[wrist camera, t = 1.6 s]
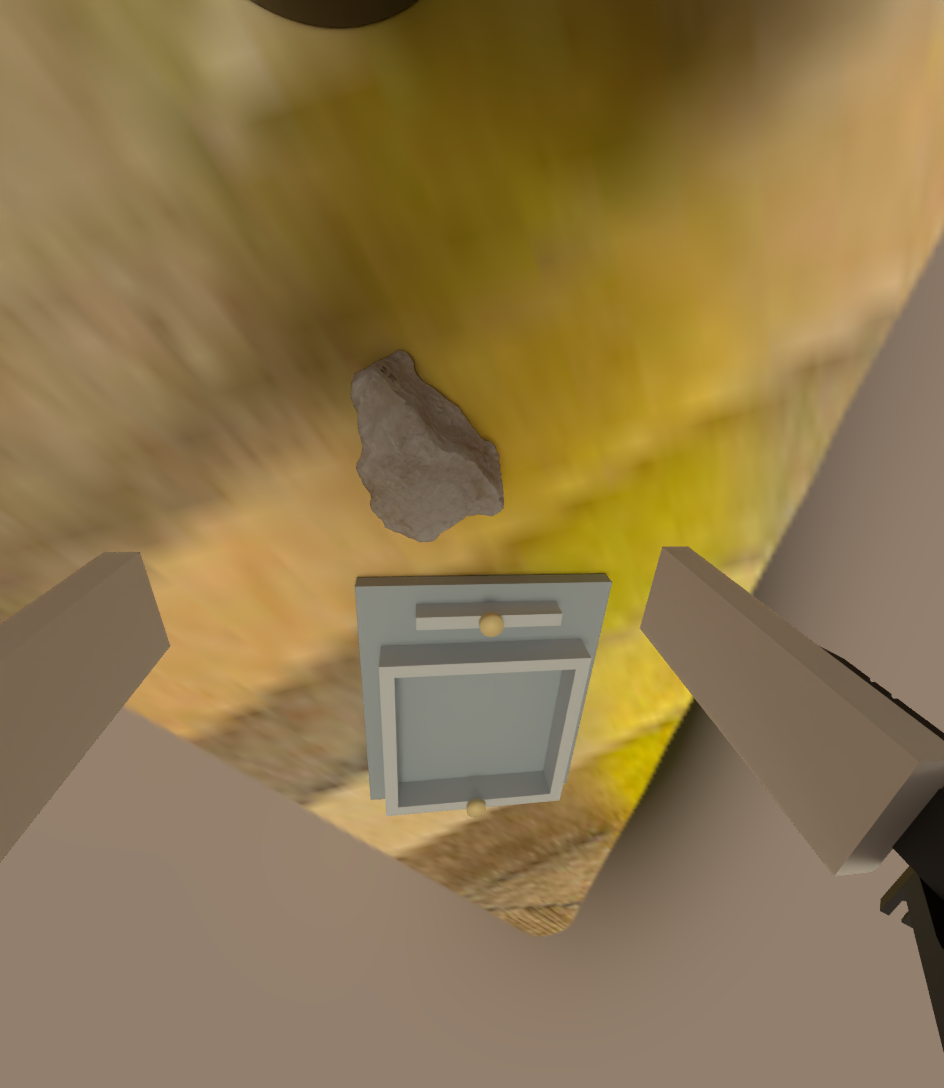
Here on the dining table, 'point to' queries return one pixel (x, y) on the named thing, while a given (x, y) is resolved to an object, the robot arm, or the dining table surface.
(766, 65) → the dining table surface
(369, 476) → the stone
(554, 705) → the bracket board
